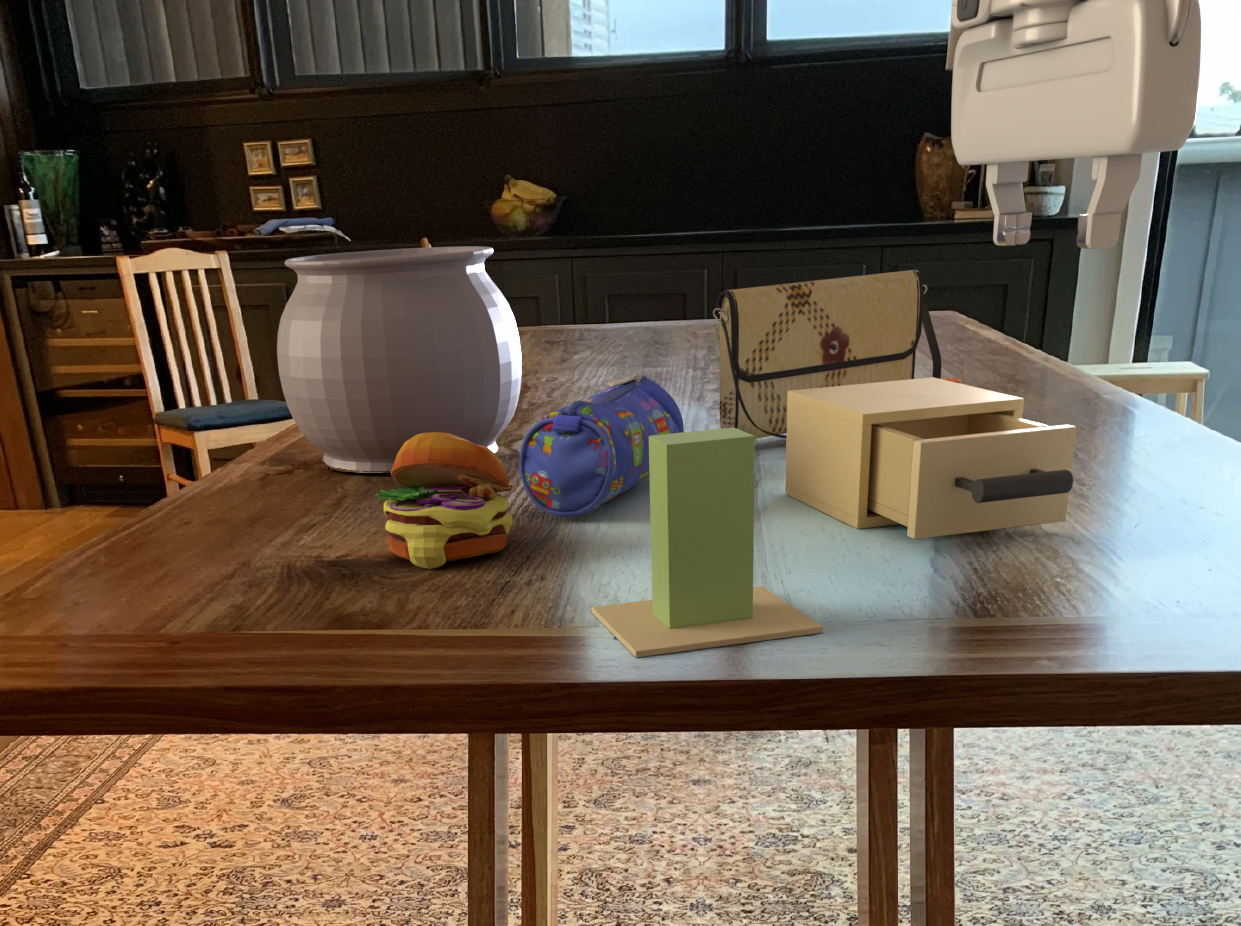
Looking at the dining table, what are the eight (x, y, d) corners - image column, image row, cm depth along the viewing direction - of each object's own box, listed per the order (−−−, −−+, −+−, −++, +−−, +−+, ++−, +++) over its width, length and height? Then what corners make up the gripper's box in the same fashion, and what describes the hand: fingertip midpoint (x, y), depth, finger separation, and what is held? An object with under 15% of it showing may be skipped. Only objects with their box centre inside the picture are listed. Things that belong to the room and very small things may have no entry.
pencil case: (605, 470, 129) (602, 366, 124) (690, 472, 126) (689, 366, 121) (517, 522, 111) (509, 403, 106) (613, 526, 108) (608, 403, 103)
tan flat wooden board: (762, 591, 89) (762, 585, 89) (823, 632, 80) (823, 626, 80) (591, 612, 86) (591, 606, 86) (635, 657, 78) (635, 651, 78)
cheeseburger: (359, 569, 99) (353, 429, 96) (414, 567, 109) (410, 440, 106) (485, 569, 96) (483, 426, 94) (530, 567, 106) (528, 438, 104)
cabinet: (1012, 511, 105) (1024, 398, 101) (857, 529, 103) (862, 414, 99) (925, 478, 118) (933, 377, 114) (784, 493, 115) (787, 390, 111)
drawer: (1099, 533, 94) (1113, 435, 91) (943, 553, 92) (951, 452, 89) (973, 488, 110) (980, 402, 106) (836, 503, 107) (839, 416, 104)
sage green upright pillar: (733, 603, 85) (734, 427, 80) (752, 618, 82) (755, 435, 77) (652, 614, 84) (648, 435, 79) (669, 629, 81) (666, 444, 76)
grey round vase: (499, 481, 126) (481, 254, 117) (255, 485, 131) (220, 267, 122) (548, 435, 148) (536, 241, 139) (338, 440, 152) (313, 252, 143)
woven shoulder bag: (748, 454, 132) (749, 292, 125) (705, 446, 137) (704, 290, 130) (954, 416, 146) (966, 268, 139) (908, 410, 151) (917, 267, 144)
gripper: (1253, -68, 64) (1209, 245, 70) (1031, -7, 82) (1012, 239, 88) (1137, -62, 63) (1104, 255, 69) (938, -1, 81) (926, 247, 87)
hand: (1051, 246), depth 79 cm, fingers open, 8 cm apart
